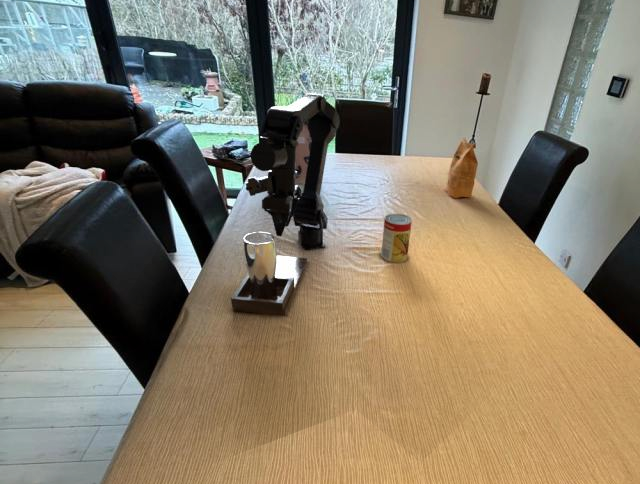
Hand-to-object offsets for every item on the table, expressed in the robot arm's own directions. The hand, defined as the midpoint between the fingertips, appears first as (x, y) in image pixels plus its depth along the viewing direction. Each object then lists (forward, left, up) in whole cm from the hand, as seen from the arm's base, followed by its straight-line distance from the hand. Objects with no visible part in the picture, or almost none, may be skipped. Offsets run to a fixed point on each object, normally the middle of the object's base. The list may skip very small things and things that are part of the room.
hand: (282, 231), depth 105 cm
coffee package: (-90, -37, -12) cm, 98 cm away
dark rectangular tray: (+5, +5, -12) cm, 14 cm away
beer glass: (+9, +11, -11) cm, 18 cm away
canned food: (-33, +3, -12) cm, 35 cm away
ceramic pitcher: (-29, -73, -12) cm, 80 cm away
